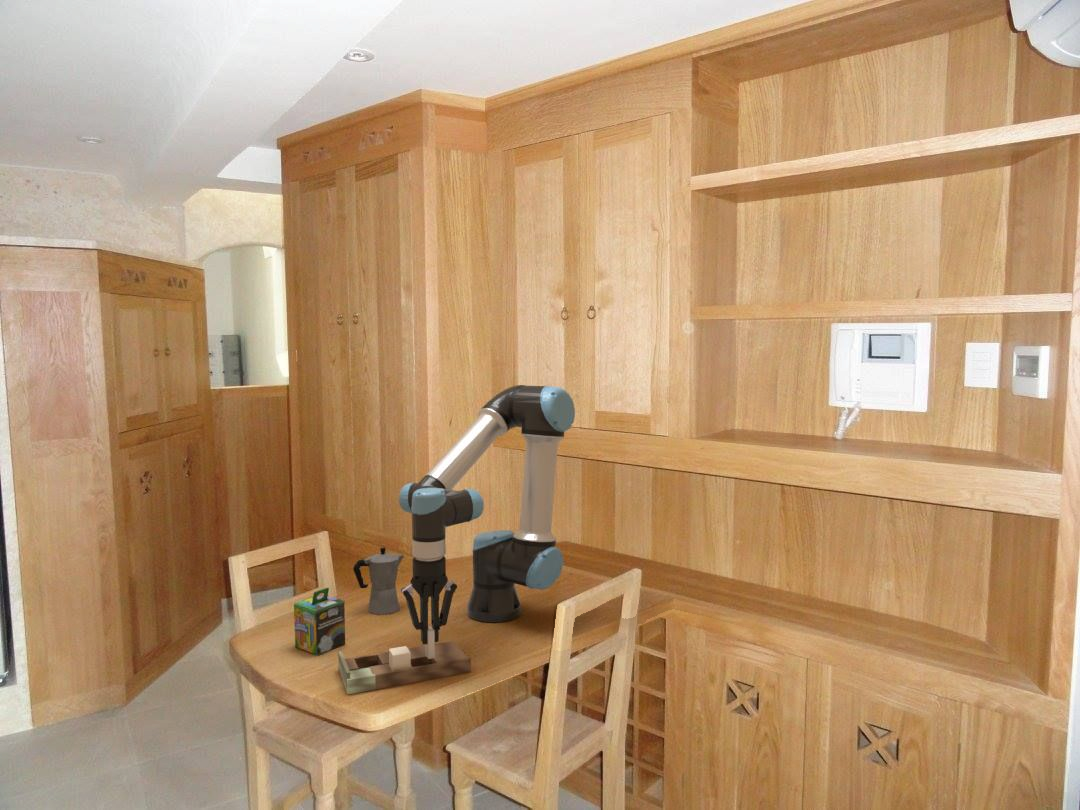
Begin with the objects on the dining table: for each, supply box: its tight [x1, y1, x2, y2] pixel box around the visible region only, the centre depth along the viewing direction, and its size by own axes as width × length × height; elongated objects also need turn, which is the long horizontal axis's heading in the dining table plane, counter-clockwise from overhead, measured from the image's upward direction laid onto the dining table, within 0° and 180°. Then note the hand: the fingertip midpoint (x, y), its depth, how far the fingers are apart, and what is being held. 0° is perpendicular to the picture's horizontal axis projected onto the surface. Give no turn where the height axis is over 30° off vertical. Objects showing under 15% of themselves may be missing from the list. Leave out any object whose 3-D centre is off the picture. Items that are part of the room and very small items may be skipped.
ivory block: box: [388, 645, 411, 671], centre depth 169 cm, size 4×4×4 cm
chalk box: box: [293, 587, 346, 657], centre depth 187 cm, size 9×9×15 cm
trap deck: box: [337, 640, 472, 695], centre depth 173 cm, size 28×13×4 cm, turn 114°
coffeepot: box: [352, 547, 405, 616], centre depth 212 cm, size 15×9×18 cm, turn 126°
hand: (430, 656), depth 172 cm, fingers closed
